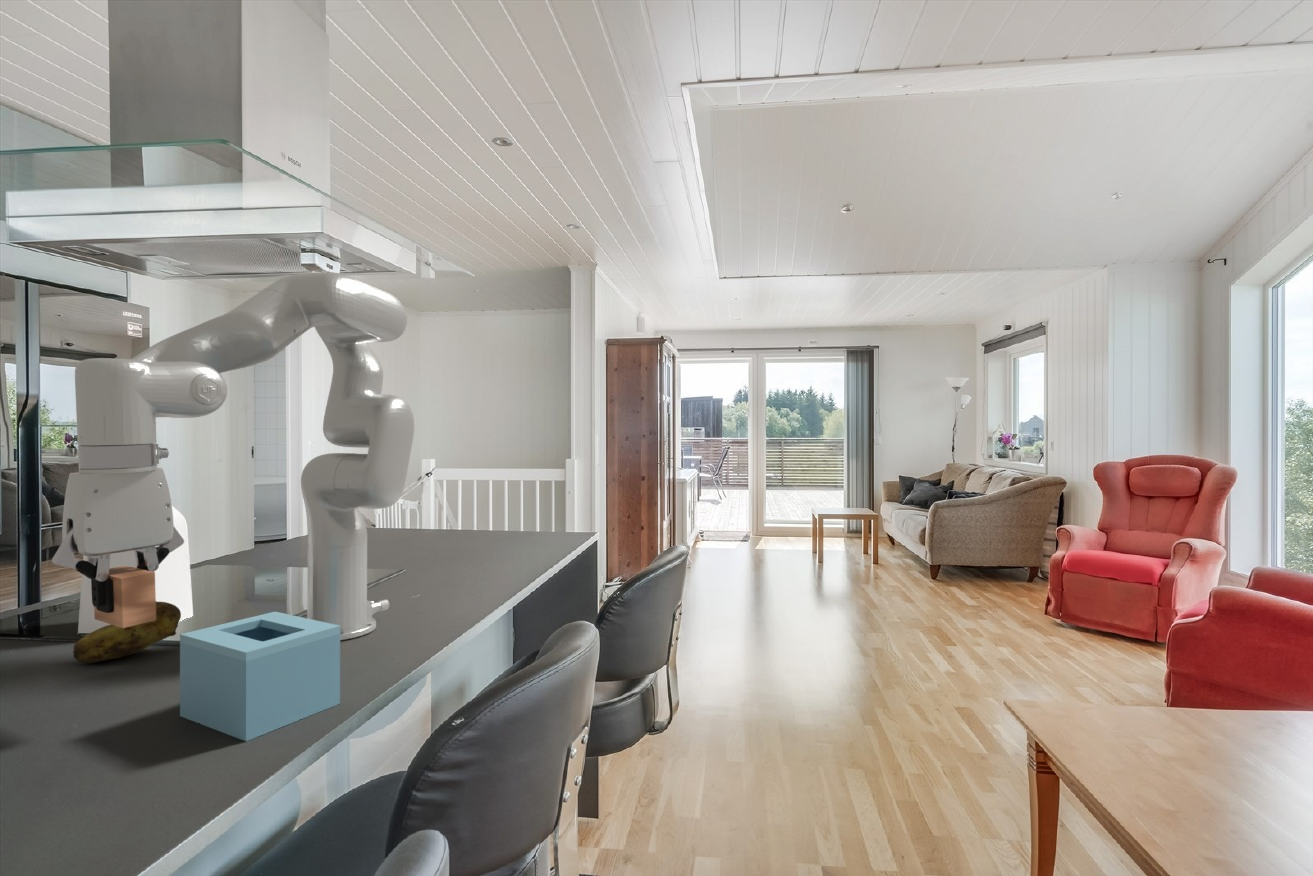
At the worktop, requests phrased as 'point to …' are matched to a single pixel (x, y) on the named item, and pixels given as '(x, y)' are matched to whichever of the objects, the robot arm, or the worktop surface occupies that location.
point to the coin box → (259, 673)
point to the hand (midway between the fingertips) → (124, 605)
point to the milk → (168, 580)
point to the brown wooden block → (130, 597)
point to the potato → (127, 636)
